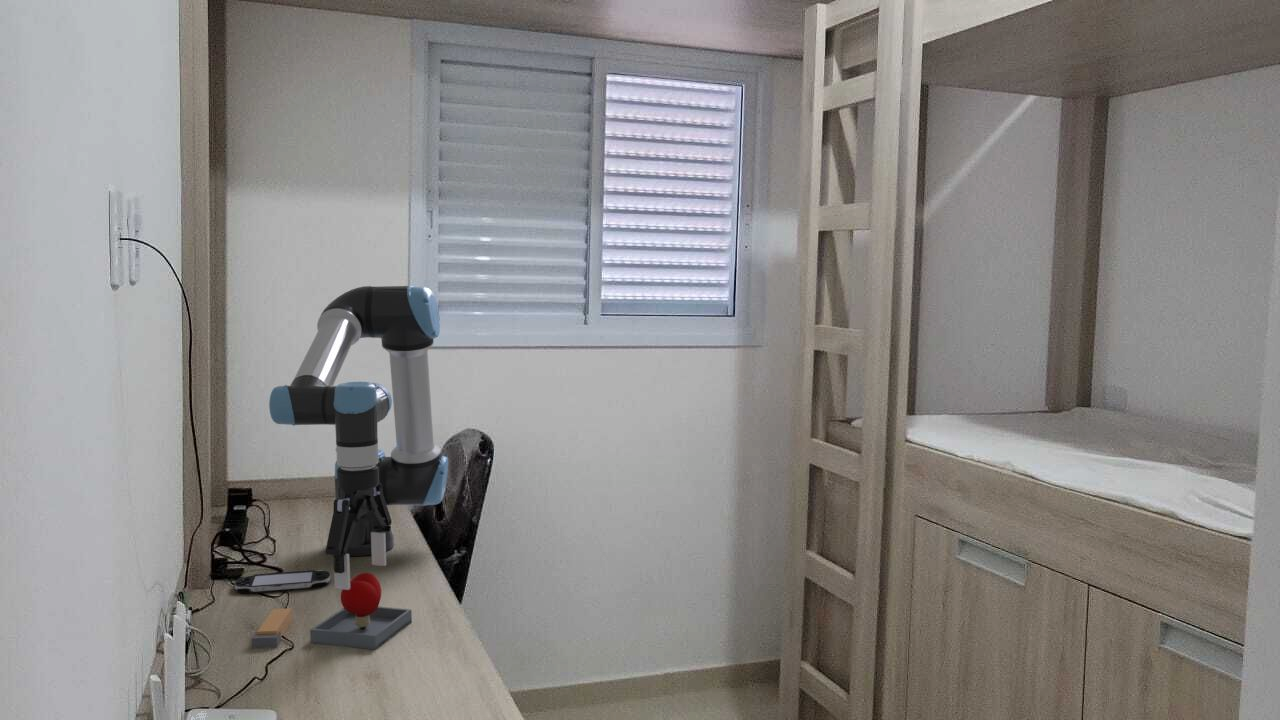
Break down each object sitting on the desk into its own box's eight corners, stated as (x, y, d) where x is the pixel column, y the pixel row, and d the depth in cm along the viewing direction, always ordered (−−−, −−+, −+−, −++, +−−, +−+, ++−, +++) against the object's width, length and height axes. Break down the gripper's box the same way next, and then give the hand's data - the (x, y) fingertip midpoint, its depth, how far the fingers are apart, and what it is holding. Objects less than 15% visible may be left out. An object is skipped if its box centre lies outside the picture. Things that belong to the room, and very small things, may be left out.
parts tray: (350, 616, 203) (350, 603, 203) (411, 622, 200) (411, 609, 200) (310, 642, 190) (310, 629, 190) (375, 649, 187) (375, 636, 186)
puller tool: (271, 621, 201) (270, 608, 201) (294, 620, 201) (294, 608, 201) (252, 649, 187) (251, 635, 187) (277, 648, 188) (276, 634, 187)
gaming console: (331, 578, 229) (330, 566, 228) (329, 590, 220) (329, 578, 220) (238, 584, 224) (237, 573, 224) (232, 597, 215) (232, 585, 215)
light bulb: (368, 639, 190) (366, 587, 189) (333, 636, 191) (330, 584, 190) (390, 619, 199) (388, 570, 198) (357, 617, 200) (354, 567, 199)
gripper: (372, 450, 204) (375, 554, 207) (302, 480, 180) (306, 597, 183) (407, 452, 203) (410, 557, 205) (340, 483, 179) (345, 601, 181)
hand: (361, 576), depth 194 cm, fingers open, 13 cm apart
